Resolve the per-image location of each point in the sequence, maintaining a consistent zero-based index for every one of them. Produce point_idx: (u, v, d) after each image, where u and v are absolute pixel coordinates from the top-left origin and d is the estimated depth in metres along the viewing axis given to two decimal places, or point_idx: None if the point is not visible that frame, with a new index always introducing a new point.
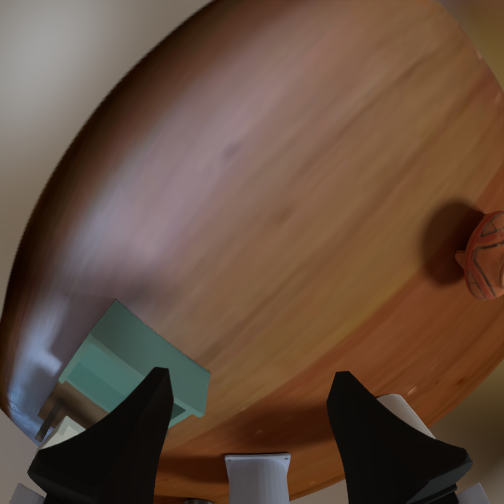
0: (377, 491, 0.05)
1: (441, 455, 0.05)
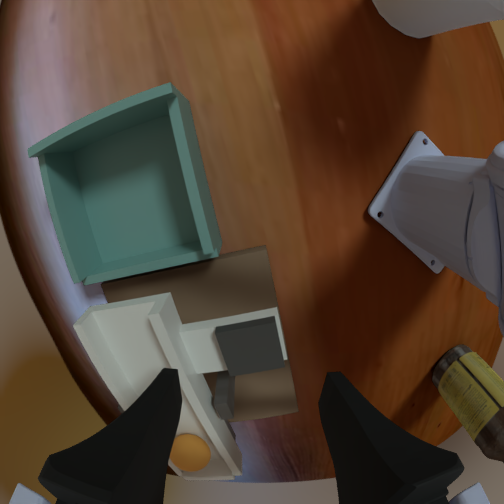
0: (366, 494, 0.05)
1: (431, 459, 0.05)
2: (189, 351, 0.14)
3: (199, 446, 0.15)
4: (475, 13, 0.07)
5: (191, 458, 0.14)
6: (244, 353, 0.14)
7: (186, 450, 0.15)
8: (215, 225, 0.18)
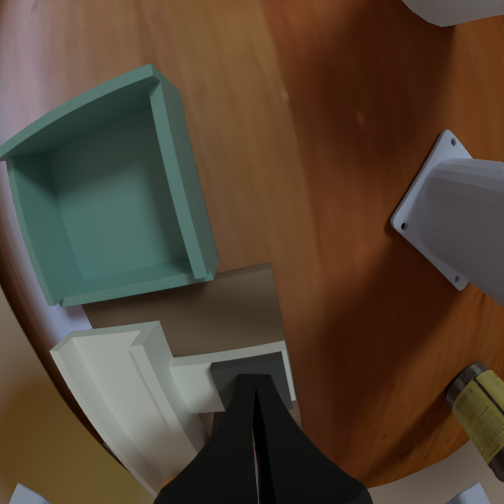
0: None
1: (327, 486, 0.05)
2: (181, 388, 0.12)
3: None
4: None
5: None
6: None
7: None
8: (210, 240, 0.15)
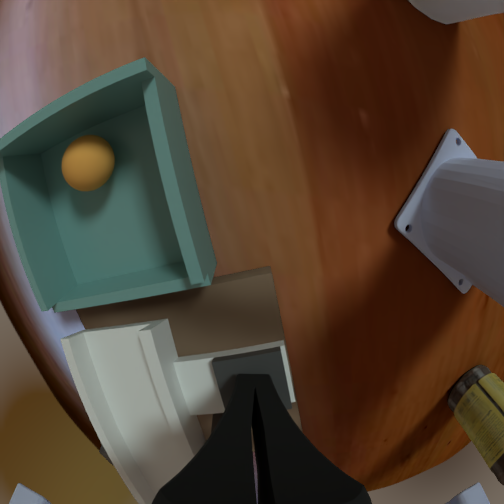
0: None
1: (326, 486, 0.05)
2: (183, 386, 0.12)
3: (114, 162, 0.13)
4: None
5: None
6: None
7: None
8: (207, 243, 0.14)
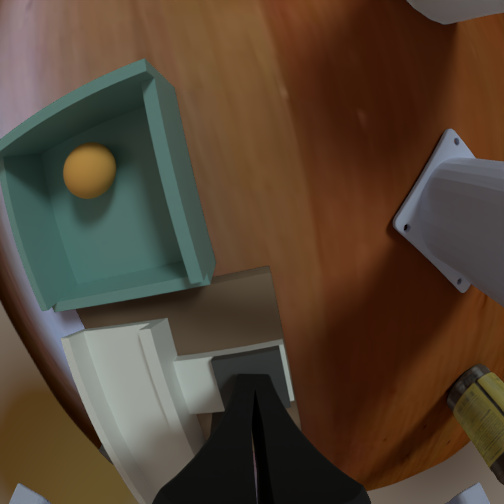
0: None
1: (326, 486, 0.05)
2: (182, 385, 0.12)
3: (115, 165, 0.13)
4: None
5: None
6: None
7: None
8: (206, 242, 0.15)
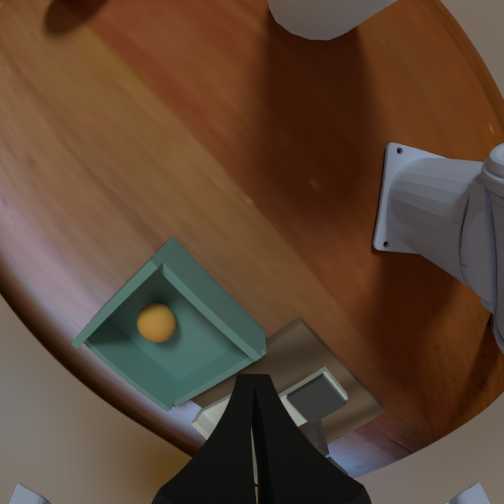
0: None
1: (326, 486, 0.05)
2: None
3: (167, 307, 0.20)
4: None
5: None
6: (312, 405, 0.17)
7: None
8: (252, 325, 0.21)
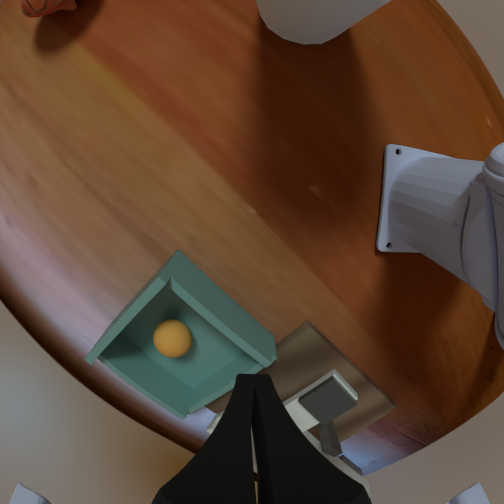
0: None
1: (326, 486, 0.05)
2: None
3: None
4: None
5: (165, 320, 0.20)
6: (323, 406, 0.17)
7: None
8: (261, 332, 0.21)
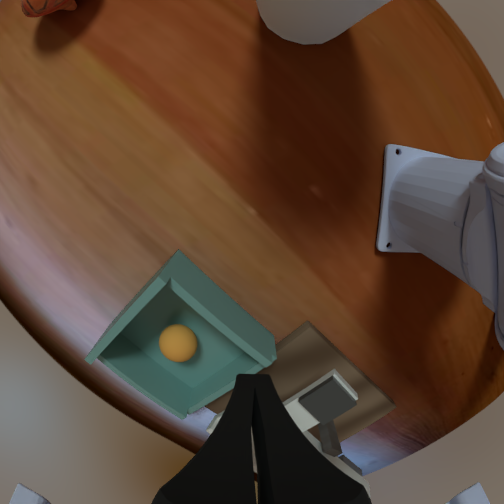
0: None
1: (326, 486, 0.05)
2: None
3: None
4: None
5: (169, 328, 0.20)
6: (323, 406, 0.17)
7: (169, 326, 0.21)
8: (261, 332, 0.21)
